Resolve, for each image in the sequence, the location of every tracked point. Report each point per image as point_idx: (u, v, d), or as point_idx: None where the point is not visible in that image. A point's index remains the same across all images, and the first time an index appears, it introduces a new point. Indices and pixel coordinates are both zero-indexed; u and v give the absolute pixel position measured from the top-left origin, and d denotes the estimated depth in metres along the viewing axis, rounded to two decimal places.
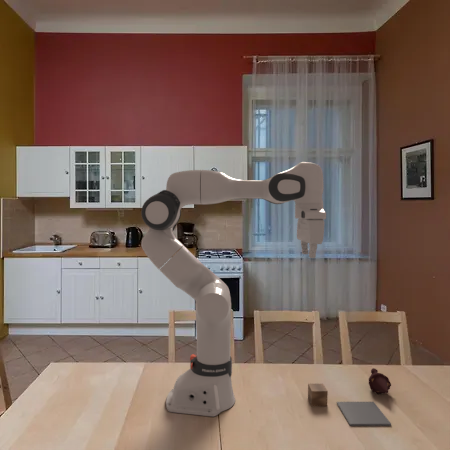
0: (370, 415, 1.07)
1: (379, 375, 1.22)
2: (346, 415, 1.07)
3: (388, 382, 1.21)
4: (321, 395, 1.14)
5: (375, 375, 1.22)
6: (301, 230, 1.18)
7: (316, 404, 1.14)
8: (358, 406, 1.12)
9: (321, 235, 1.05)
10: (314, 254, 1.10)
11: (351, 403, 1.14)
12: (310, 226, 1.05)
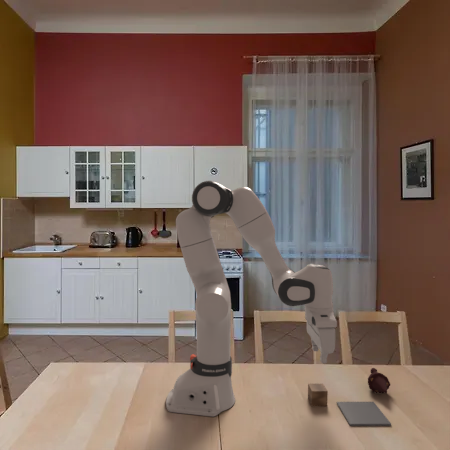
0: (370, 415, 1.07)
1: (378, 375, 1.22)
2: (346, 415, 1.07)
3: (387, 382, 1.22)
4: (321, 395, 1.14)
5: (374, 375, 1.22)
6: (311, 329, 1.18)
7: (316, 404, 1.14)
8: (358, 406, 1.12)
9: (332, 345, 1.05)
10: (325, 359, 1.10)
11: (351, 403, 1.14)
12: (321, 336, 1.06)
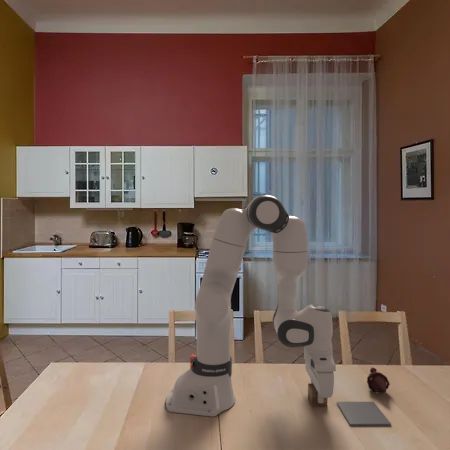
0: (370, 415, 1.07)
1: (377, 374, 1.23)
2: (346, 415, 1.07)
3: (386, 381, 1.22)
4: None
5: (373, 374, 1.23)
6: (310, 369, 1.18)
7: (316, 404, 1.14)
8: (358, 406, 1.12)
9: (330, 389, 1.06)
10: (322, 399, 1.12)
11: (351, 403, 1.14)
12: (320, 380, 1.06)
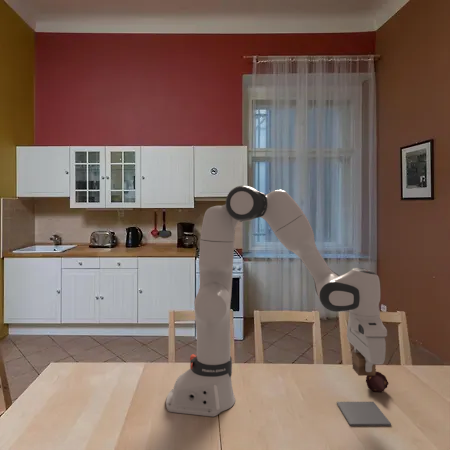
0: (370, 415, 1.07)
1: (376, 373, 1.23)
2: (346, 415, 1.07)
3: (385, 381, 1.22)
4: None
5: None
6: (354, 337, 1.11)
7: (363, 373, 1.06)
8: (358, 406, 1.12)
9: (382, 355, 0.99)
10: (370, 368, 1.05)
11: (351, 403, 1.14)
12: (371, 346, 0.99)
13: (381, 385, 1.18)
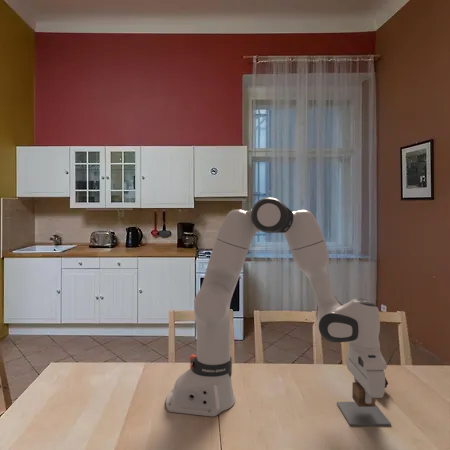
0: (370, 415, 1.07)
1: None
2: (346, 415, 1.07)
3: (385, 380, 1.23)
4: None
5: None
6: (354, 367, 1.11)
7: (363, 404, 1.07)
8: None
9: (382, 389, 0.99)
10: (370, 400, 1.05)
11: (351, 403, 1.14)
12: (370, 379, 0.99)
13: None
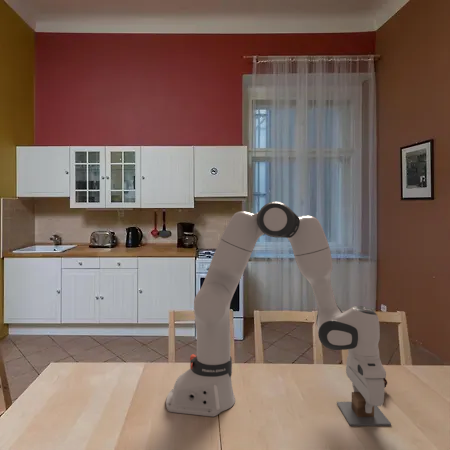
0: None
1: None
2: (346, 415, 1.07)
3: (384, 380, 1.23)
4: None
5: None
6: (354, 374, 1.11)
7: (362, 414, 1.07)
8: None
9: (381, 397, 0.99)
10: (370, 409, 1.04)
11: (351, 403, 1.14)
12: (370, 388, 0.99)
13: None
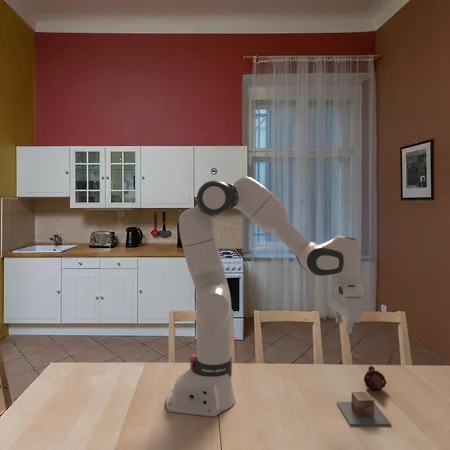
0: None
1: (374, 372, 1.24)
2: (346, 415, 1.07)
3: (383, 379, 1.23)
4: (368, 404, 1.07)
5: (370, 372, 1.24)
6: (336, 301, 1.18)
7: (362, 414, 1.07)
8: None
9: (359, 314, 1.06)
10: (350, 329, 1.11)
11: (351, 403, 1.14)
12: (348, 305, 1.06)
13: (378, 384, 1.19)
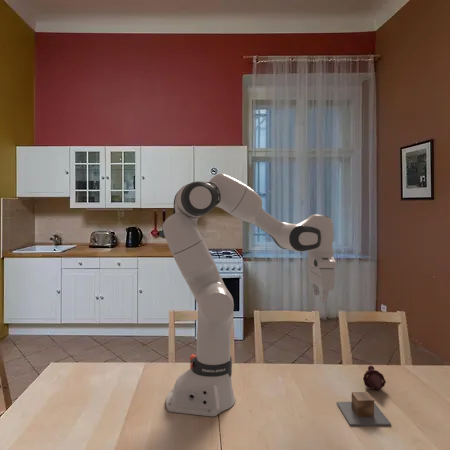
0: None
1: (374, 372, 1.24)
2: (346, 415, 1.07)
3: (383, 379, 1.24)
4: (368, 404, 1.07)
5: (370, 372, 1.25)
6: (313, 274, 1.30)
7: (362, 414, 1.07)
8: None
9: (332, 283, 1.18)
10: (325, 298, 1.22)
11: (351, 403, 1.14)
12: (322, 275, 1.18)
13: (377, 383, 1.19)
